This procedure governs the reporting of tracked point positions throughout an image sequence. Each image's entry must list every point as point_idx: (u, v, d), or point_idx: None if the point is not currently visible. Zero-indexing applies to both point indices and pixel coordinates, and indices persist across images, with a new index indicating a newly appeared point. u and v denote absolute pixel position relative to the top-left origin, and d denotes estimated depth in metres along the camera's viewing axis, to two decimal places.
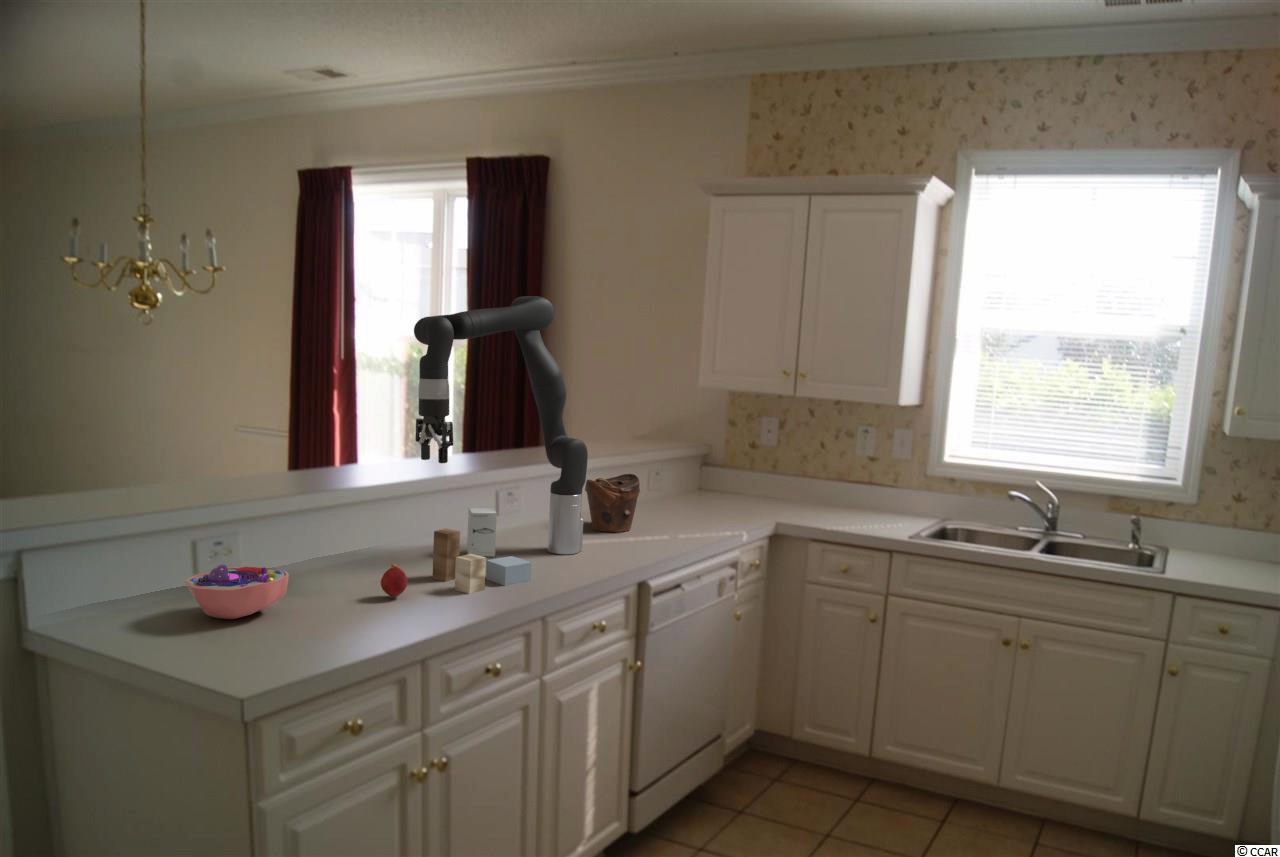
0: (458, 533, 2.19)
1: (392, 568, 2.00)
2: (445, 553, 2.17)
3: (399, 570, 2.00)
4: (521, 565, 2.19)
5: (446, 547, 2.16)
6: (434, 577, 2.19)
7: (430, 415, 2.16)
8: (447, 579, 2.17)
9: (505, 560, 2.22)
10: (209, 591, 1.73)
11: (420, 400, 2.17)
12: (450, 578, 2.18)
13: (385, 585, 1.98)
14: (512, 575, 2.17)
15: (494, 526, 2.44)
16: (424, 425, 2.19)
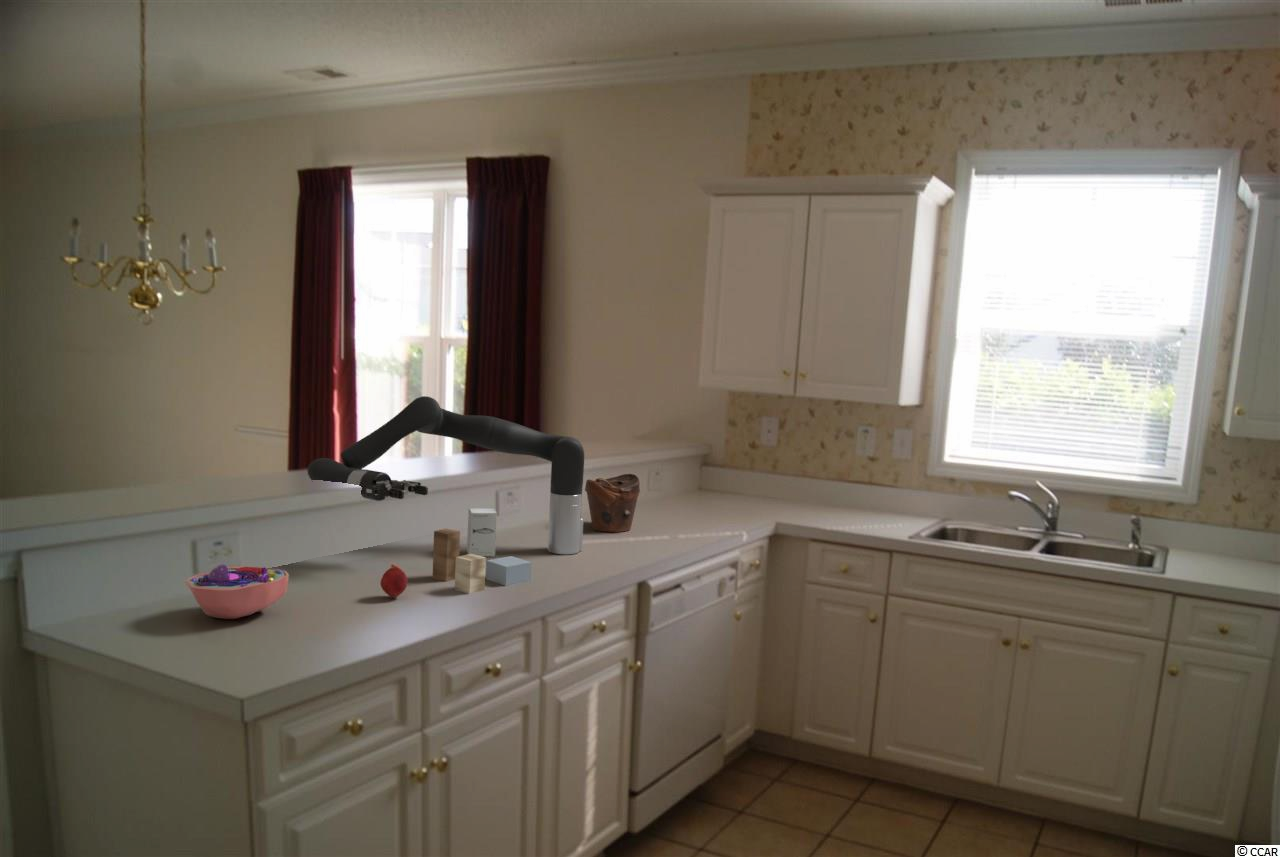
0: (458, 533, 2.19)
1: (392, 568, 2.00)
2: (445, 553, 2.17)
3: (399, 570, 2.00)
4: (521, 565, 2.19)
5: (446, 547, 2.16)
6: (434, 577, 2.19)
7: (373, 497, 2.27)
8: (447, 579, 2.17)
9: (505, 560, 2.22)
10: (209, 591, 1.73)
11: None
12: (450, 578, 2.18)
13: (385, 585, 1.98)
14: (512, 575, 2.17)
15: (494, 526, 2.44)
16: None
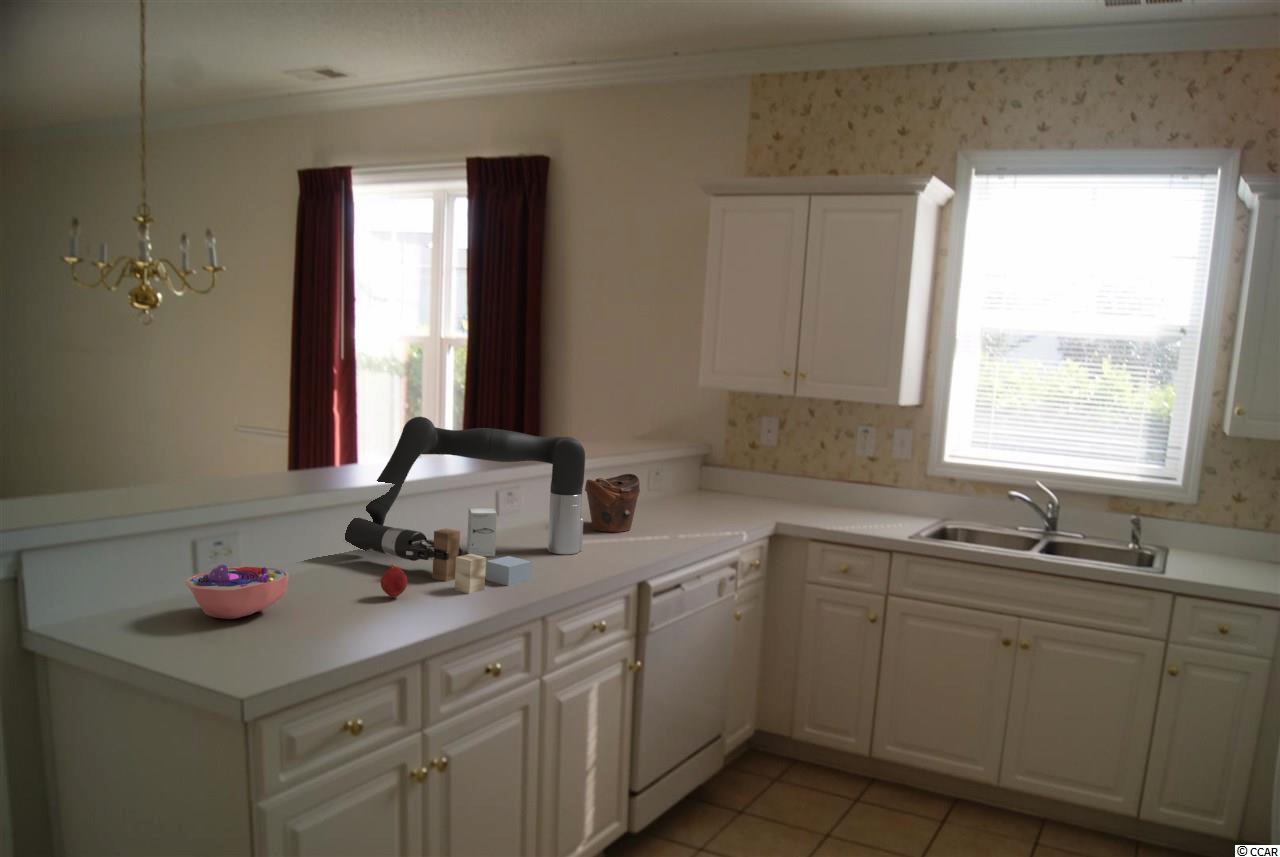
0: (458, 533, 2.19)
1: (392, 568, 2.00)
2: None
3: (399, 570, 2.00)
4: (522, 565, 2.20)
5: (446, 547, 2.16)
6: (434, 577, 2.19)
7: (409, 557, 2.22)
8: (447, 579, 2.17)
9: (505, 560, 2.22)
10: (209, 591, 1.73)
11: None
12: (450, 578, 2.18)
13: (385, 585, 1.98)
14: (514, 575, 2.18)
15: (494, 526, 2.44)
16: None
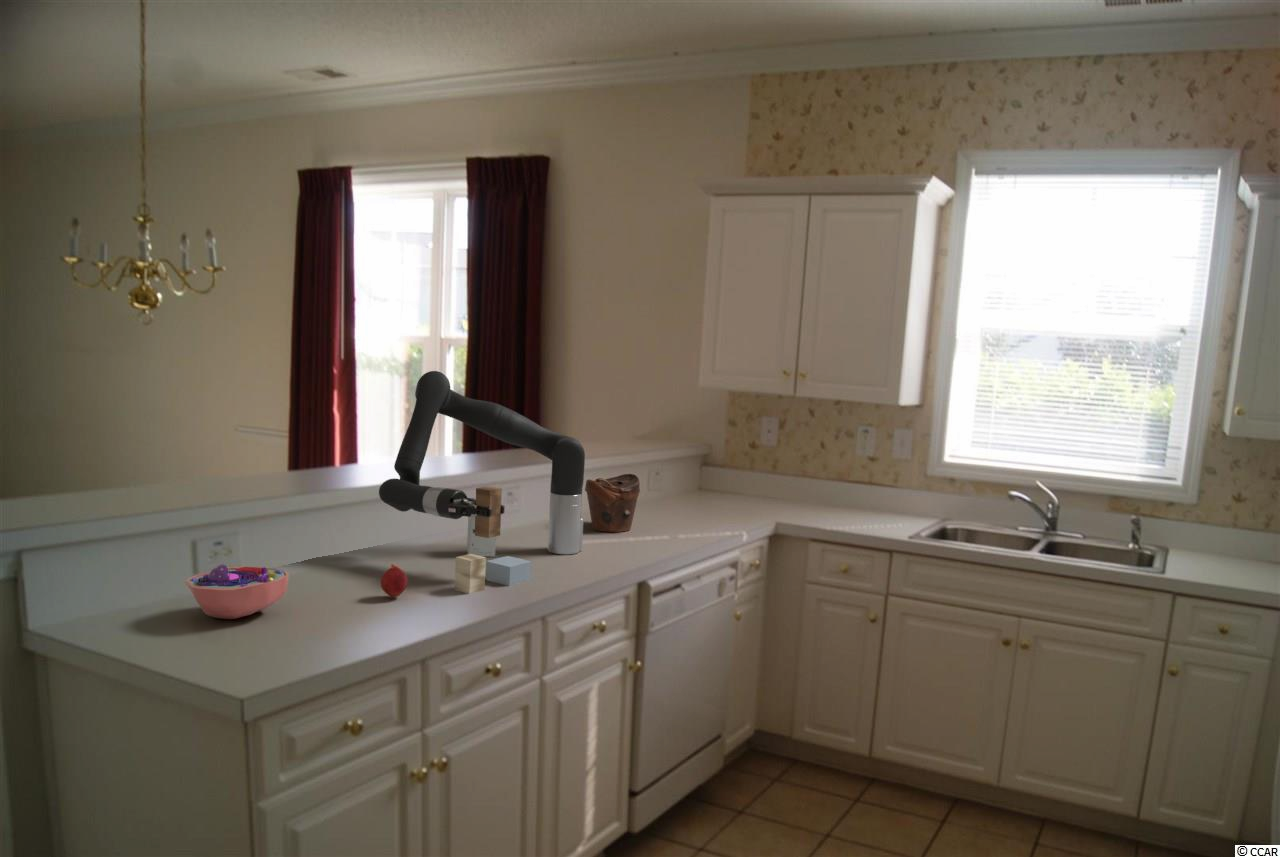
0: (500, 490, 2.19)
1: (392, 568, 2.00)
2: None
3: (399, 570, 2.00)
4: (523, 564, 2.20)
5: (489, 504, 2.16)
6: (476, 534, 2.19)
7: (450, 515, 2.22)
8: (490, 536, 2.17)
9: (504, 560, 2.22)
10: (209, 591, 1.73)
11: None
12: (492, 535, 2.18)
13: (385, 585, 1.98)
14: (515, 575, 2.18)
15: None
16: None
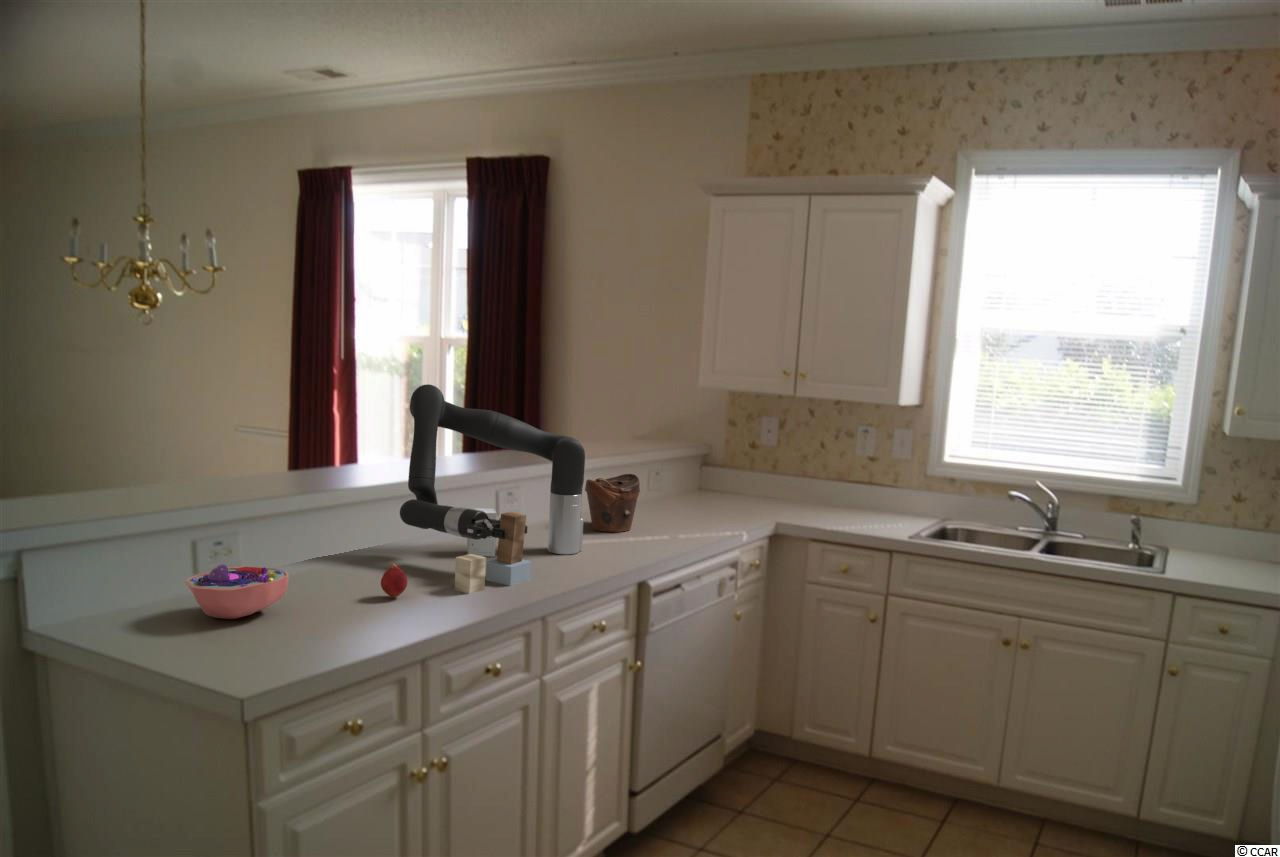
0: (524, 517, 2.20)
1: (392, 568, 2.00)
2: (512, 536, 2.18)
3: (399, 570, 2.00)
4: (523, 564, 2.20)
5: (513, 530, 2.17)
6: (498, 559, 2.20)
7: (472, 536, 2.23)
8: (512, 562, 2.18)
9: None
10: (209, 591, 1.73)
11: None
12: (514, 561, 2.19)
13: (385, 585, 1.98)
14: (516, 575, 2.18)
15: None
16: None
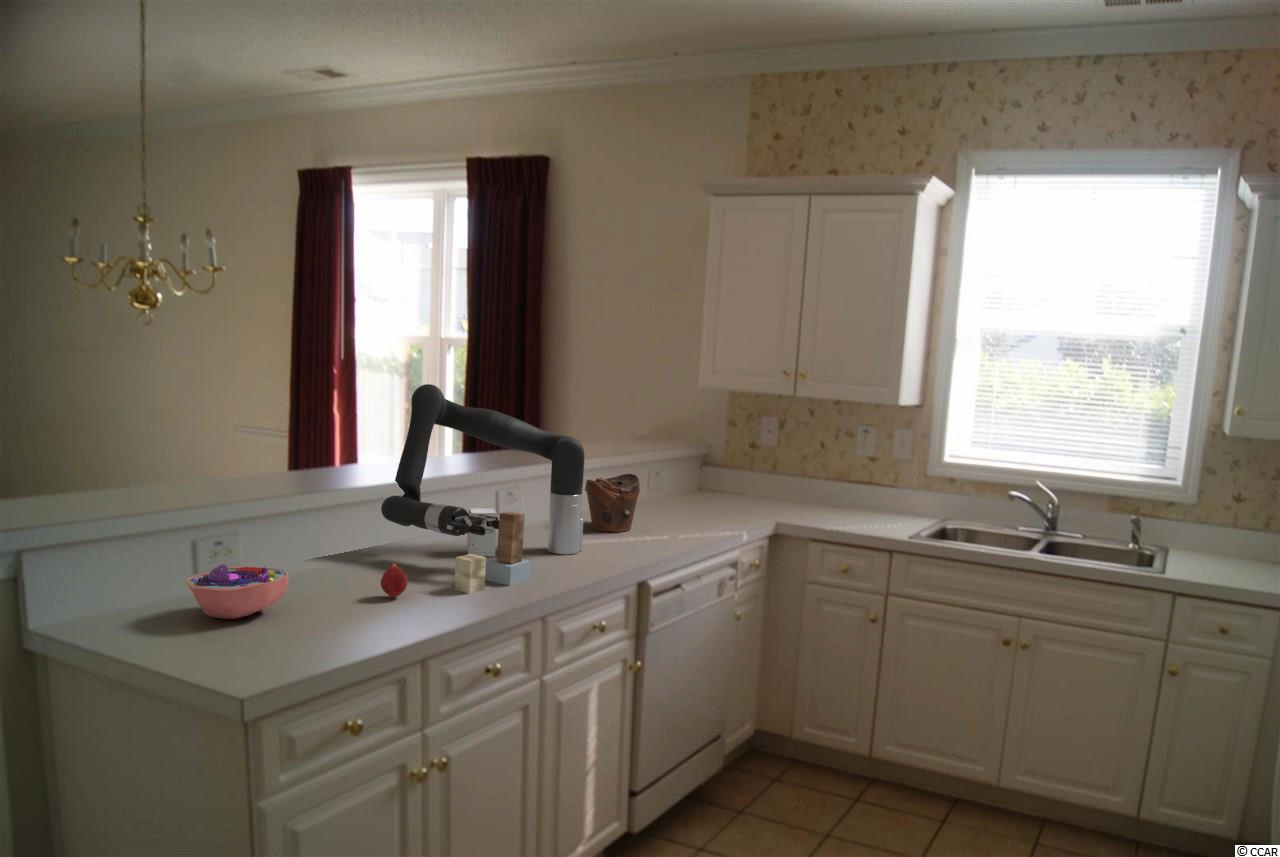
0: (523, 516, 2.21)
1: (392, 568, 2.00)
2: (511, 535, 2.18)
3: (399, 570, 2.00)
4: (523, 564, 2.20)
5: (512, 529, 2.18)
6: (498, 559, 2.20)
7: (452, 532, 2.26)
8: (512, 561, 2.18)
9: None
10: (209, 591, 1.73)
11: None
12: (514, 560, 2.19)
13: (385, 585, 1.98)
14: (515, 575, 2.18)
15: None
16: None
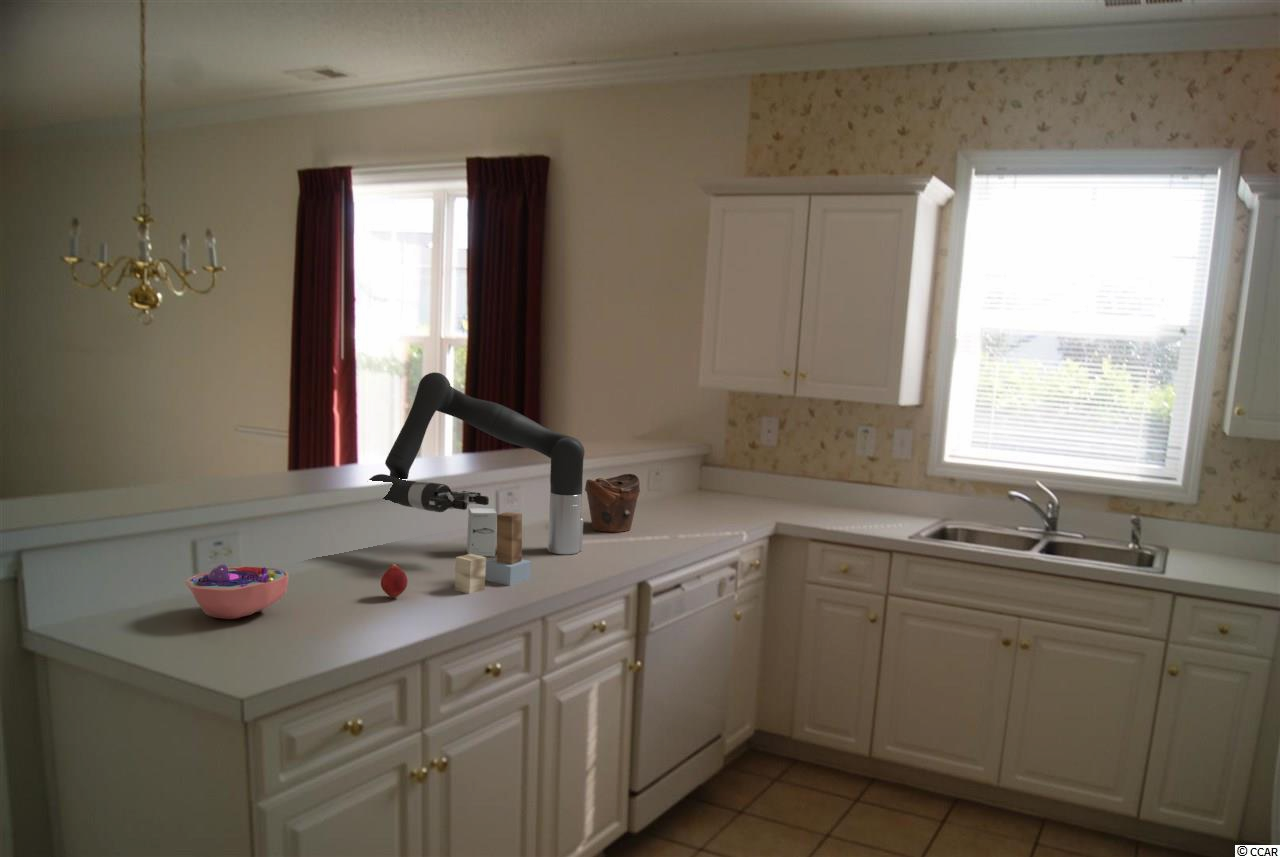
0: (520, 515, 2.21)
1: (392, 568, 2.00)
2: (510, 536, 2.18)
3: (399, 570, 2.00)
4: (523, 564, 2.20)
5: (511, 530, 2.17)
6: (498, 560, 2.20)
7: (435, 509, 2.30)
8: (512, 561, 2.19)
9: None
10: (209, 591, 1.73)
11: None
12: (515, 560, 2.19)
13: (385, 585, 1.98)
14: (515, 575, 2.18)
15: (494, 526, 2.44)
16: None
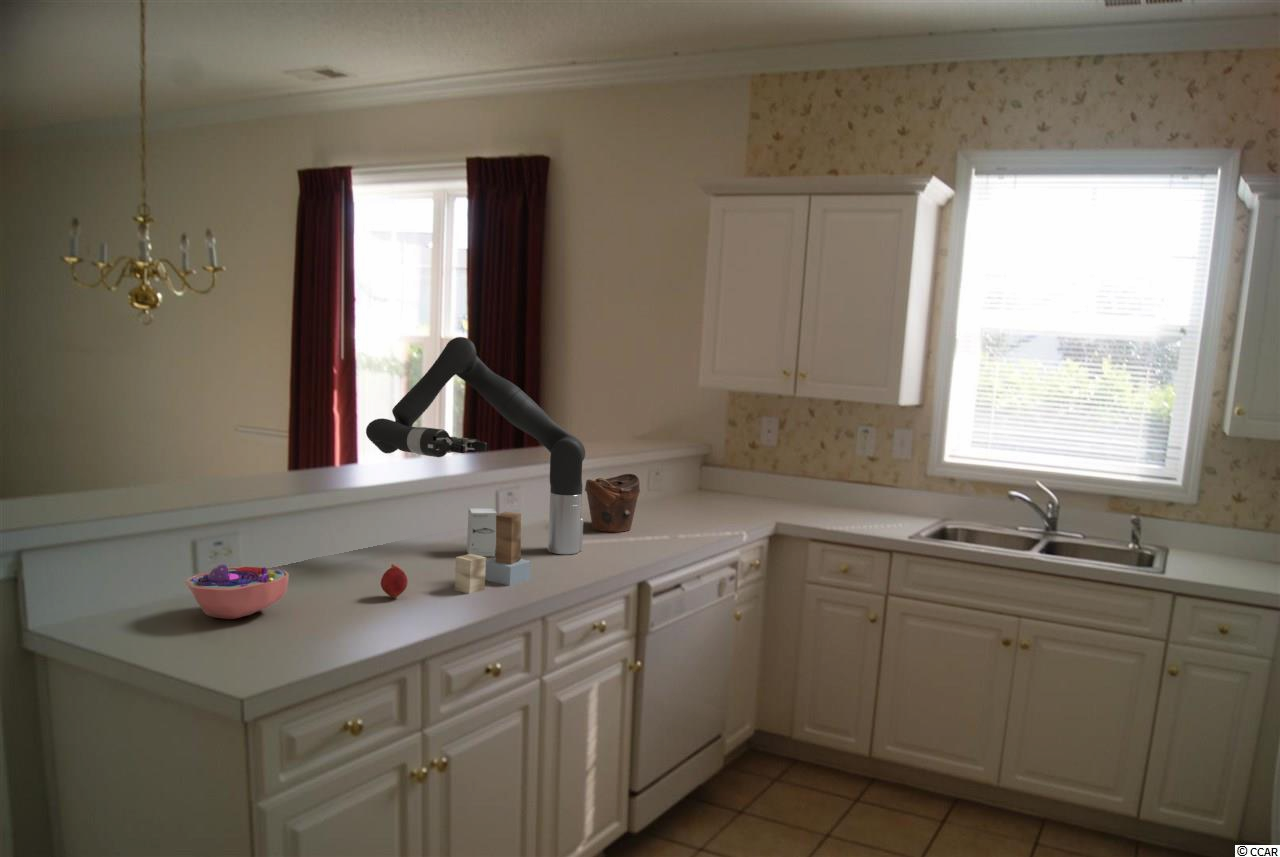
0: (519, 516, 2.20)
1: (392, 568, 2.00)
2: (510, 537, 2.18)
3: (399, 570, 2.00)
4: (523, 564, 2.20)
5: (511, 530, 2.17)
6: (498, 561, 2.20)
7: (433, 453, 2.31)
8: (512, 562, 2.19)
9: None
10: (209, 591, 1.73)
11: None
12: (514, 561, 2.20)
13: (385, 585, 1.98)
14: (515, 575, 2.18)
15: (494, 526, 2.44)
16: None
